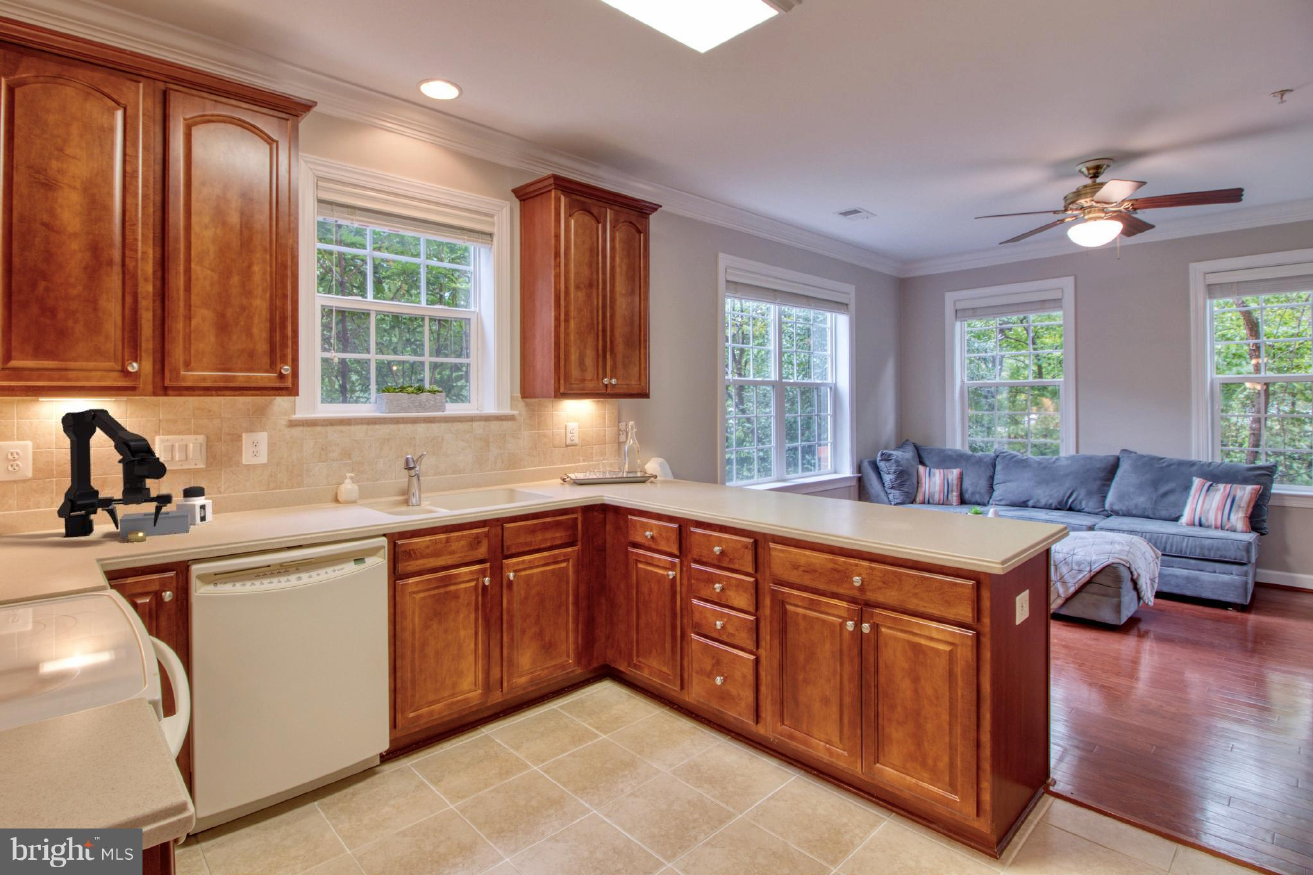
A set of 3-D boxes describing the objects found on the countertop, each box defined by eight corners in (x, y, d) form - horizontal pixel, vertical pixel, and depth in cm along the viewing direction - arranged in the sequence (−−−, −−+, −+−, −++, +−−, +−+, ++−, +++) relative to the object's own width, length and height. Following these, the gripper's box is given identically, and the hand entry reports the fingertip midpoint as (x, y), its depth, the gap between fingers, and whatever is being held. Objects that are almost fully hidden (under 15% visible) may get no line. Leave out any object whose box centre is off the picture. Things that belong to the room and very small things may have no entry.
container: (212, 521, 248) (211, 485, 248) (196, 525, 241) (195, 488, 240) (193, 520, 249) (191, 485, 249) (176, 524, 242) (174, 487, 241)
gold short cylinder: (127, 543, 211) (126, 533, 211) (128, 540, 215) (128, 531, 214) (145, 542, 213) (145, 532, 213) (146, 539, 217) (146, 530, 217)
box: (120, 538, 218) (119, 519, 218) (124, 531, 228) (124, 513, 228) (188, 532, 228) (188, 514, 227) (190, 526, 238) (189, 509, 237)
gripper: (91, 482, 201) (93, 535, 202) (169, 479, 211) (171, 529, 212) (97, 478, 210) (99, 529, 211) (171, 475, 220) (173, 523, 221)
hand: (136, 528), depth 214 cm, fingers open, 9 cm apart
